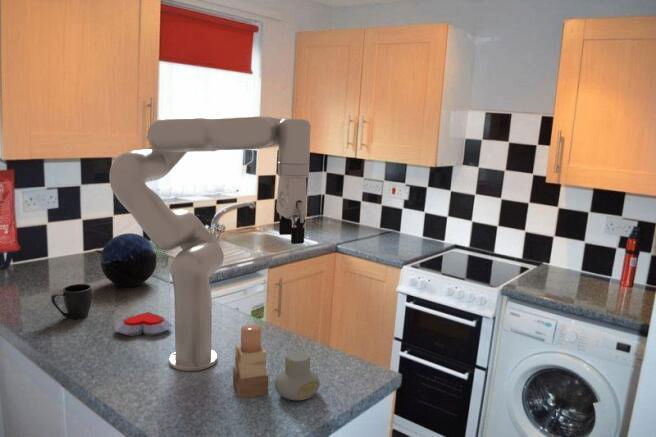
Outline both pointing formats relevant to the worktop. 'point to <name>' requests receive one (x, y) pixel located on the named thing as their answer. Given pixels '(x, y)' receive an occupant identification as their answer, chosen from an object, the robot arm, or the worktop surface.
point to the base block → (250, 385)
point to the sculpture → (143, 325)
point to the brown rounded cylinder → (250, 338)
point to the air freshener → (297, 378)
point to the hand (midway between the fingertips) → (291, 238)
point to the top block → (250, 362)
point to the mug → (75, 301)
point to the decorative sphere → (128, 259)
